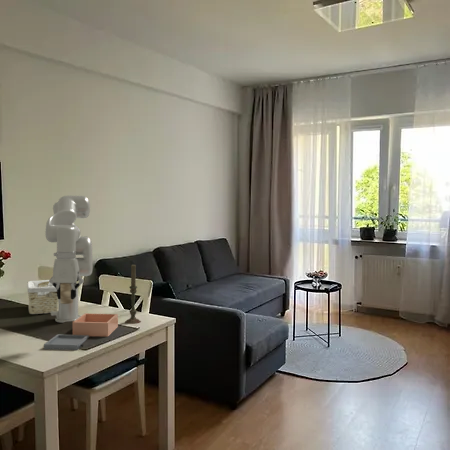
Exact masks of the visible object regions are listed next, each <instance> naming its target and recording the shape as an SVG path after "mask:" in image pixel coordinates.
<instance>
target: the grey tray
mask: <svg viewBox="0 0 450 450" xmlns="http://www.w3.org/2000/svg"><path fill="white" fill-rule="evenodd" d="M89 338H90V336H89V335H73V334H63V333H61V334H60V333H59V334H56V335H54V336H53V337H52V338H50V339H49V340H48V341H46V342H45V343H44V344H43V349H44V350H63V351H64V350H67V351H70V350H71V351H79V349H81V348H82V347H83V343H85V342H86V340H88V339H89Z"/></svg>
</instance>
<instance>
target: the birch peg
mask: <svg viewBox="0 0 450 450" xmlns="http://www.w3.org/2000/svg"><path fill="white" fill-rule="evenodd" d="M71 290H72V286H71V283H60V303H61V304H70V303H73V299H71Z"/></svg>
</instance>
